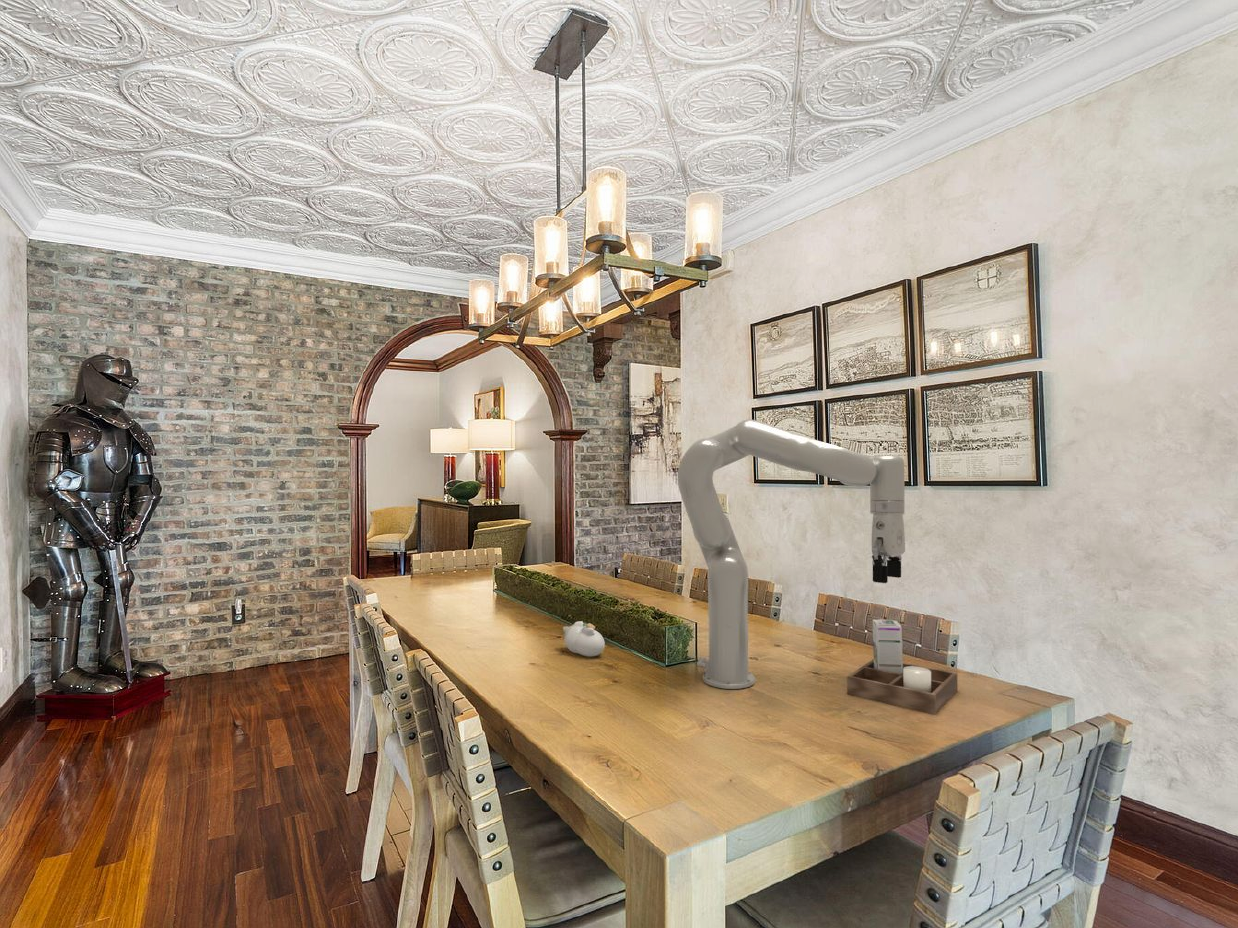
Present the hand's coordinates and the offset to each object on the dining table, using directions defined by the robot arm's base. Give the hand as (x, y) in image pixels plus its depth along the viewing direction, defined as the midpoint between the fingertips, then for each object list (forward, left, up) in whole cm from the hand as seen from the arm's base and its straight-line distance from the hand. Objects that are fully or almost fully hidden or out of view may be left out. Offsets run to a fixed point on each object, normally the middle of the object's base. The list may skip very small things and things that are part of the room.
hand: (887, 579), depth 151 cm
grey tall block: (0, 0, -25) cm, 25 cm away
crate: (+5, -4, -26) cm, 26 cm away
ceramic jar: (+9, -9, -25) cm, 28 cm away
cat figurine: (-75, -26, -26) cm, 84 cm away
